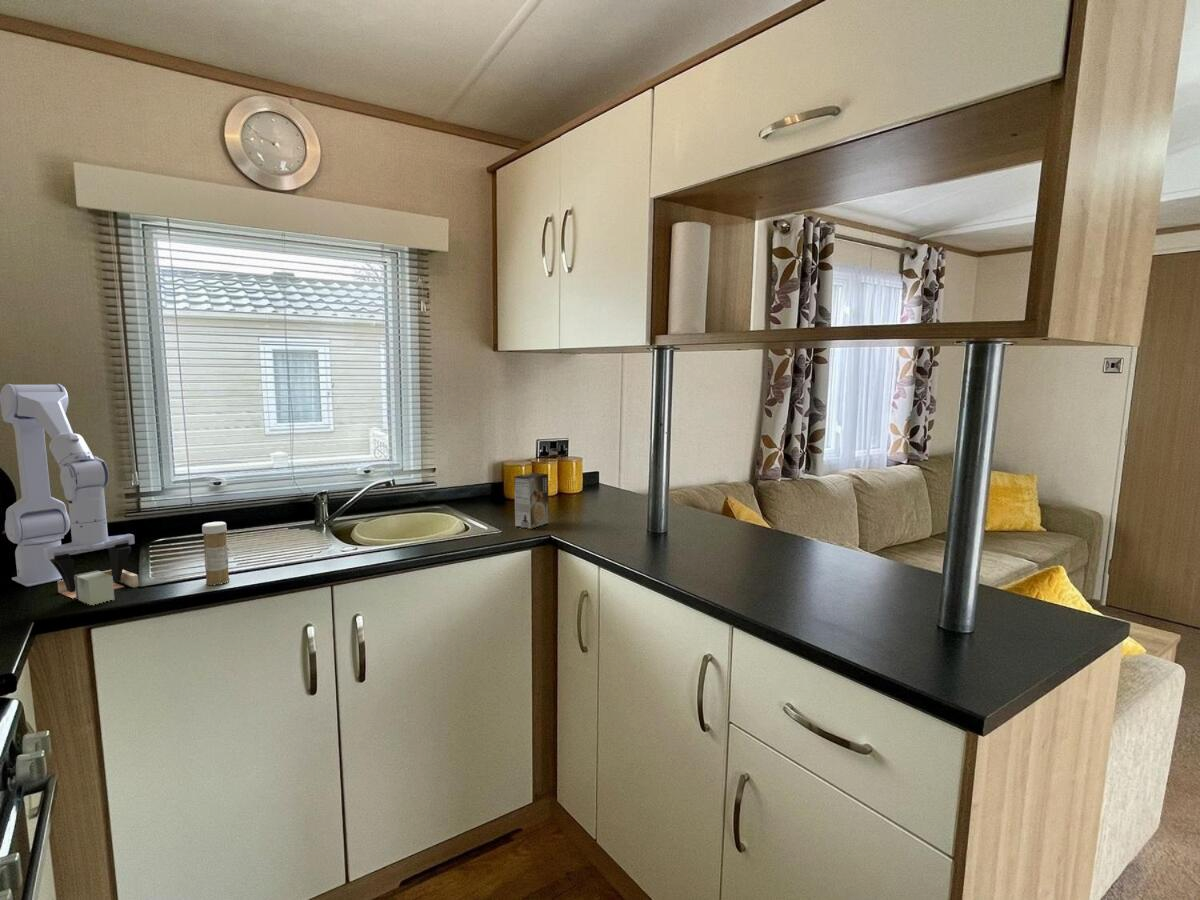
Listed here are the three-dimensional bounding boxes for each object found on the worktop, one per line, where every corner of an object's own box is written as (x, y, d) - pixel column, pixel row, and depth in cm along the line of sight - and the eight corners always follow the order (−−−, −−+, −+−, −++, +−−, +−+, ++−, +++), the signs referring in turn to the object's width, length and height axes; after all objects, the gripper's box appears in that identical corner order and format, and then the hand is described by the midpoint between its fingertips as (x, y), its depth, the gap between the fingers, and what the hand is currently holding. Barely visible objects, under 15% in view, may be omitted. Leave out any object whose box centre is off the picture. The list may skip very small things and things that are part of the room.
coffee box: (533, 522, 201) (532, 472, 199) (549, 524, 197) (549, 473, 195) (514, 527, 193) (513, 475, 191) (530, 530, 189) (530, 477, 188)
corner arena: (58, 592, 133) (57, 581, 133) (119, 578, 142) (118, 568, 142) (76, 600, 128) (75, 589, 128) (138, 586, 137) (137, 575, 137)
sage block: (90, 605, 126) (88, 581, 125) (76, 599, 129) (74, 575, 129) (114, 599, 129) (112, 575, 128) (100, 593, 133) (98, 570, 132)
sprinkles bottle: (212, 579, 142) (208, 521, 140) (233, 579, 142) (230, 520, 141) (201, 586, 137) (197, 525, 136) (223, 585, 138) (219, 525, 136)
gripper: (50, 529, 119) (57, 599, 121) (138, 516, 131) (144, 579, 133) (36, 525, 123) (43, 593, 124) (123, 512, 135) (129, 574, 136)
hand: (94, 585), depth 129 cm, fingers open, 7 cm apart
